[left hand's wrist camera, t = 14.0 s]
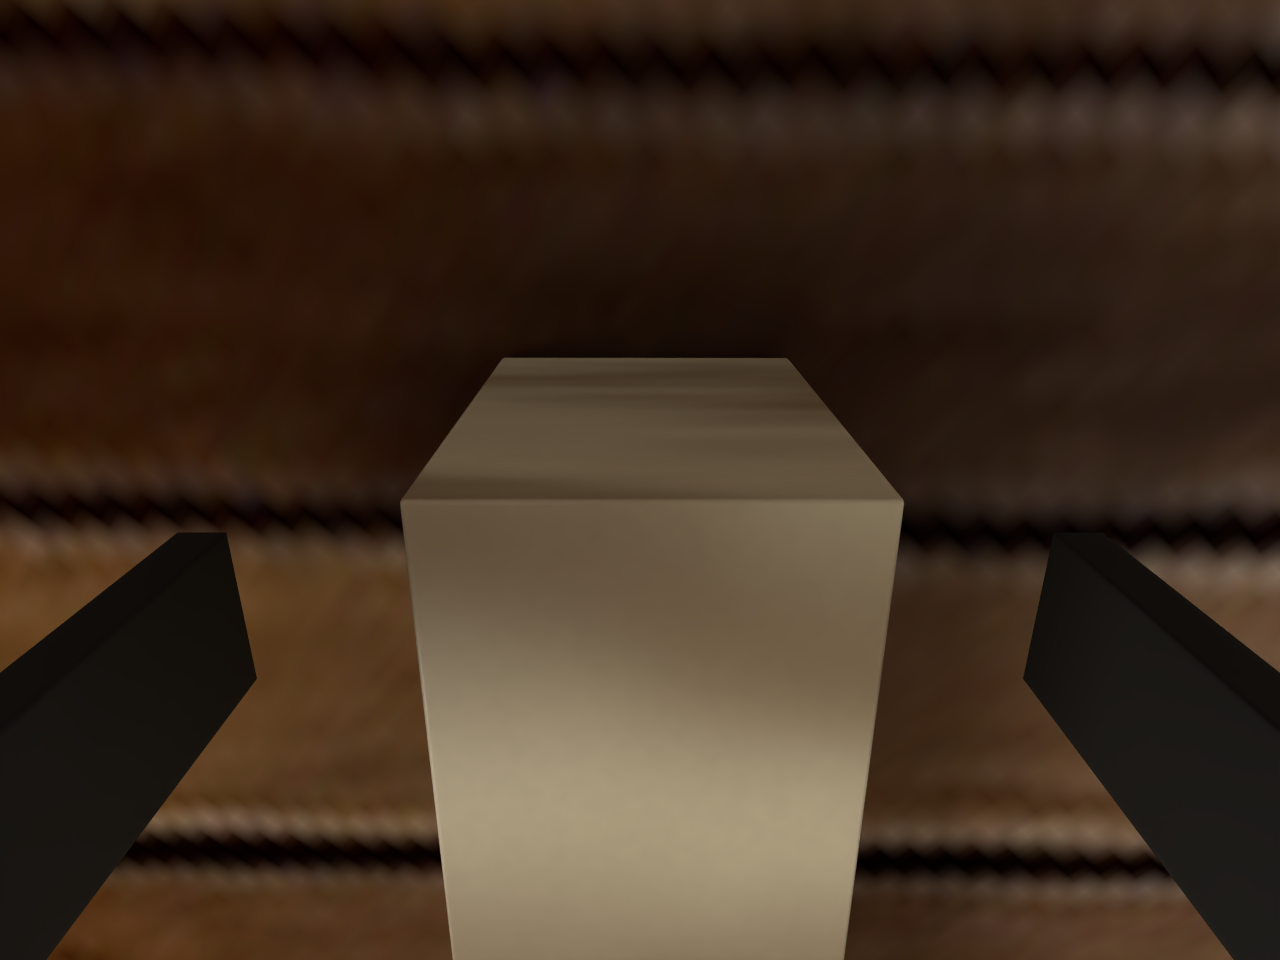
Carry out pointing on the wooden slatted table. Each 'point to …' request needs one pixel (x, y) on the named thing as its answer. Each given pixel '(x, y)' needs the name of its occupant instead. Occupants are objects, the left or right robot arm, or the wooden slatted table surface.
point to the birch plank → (650, 659)
